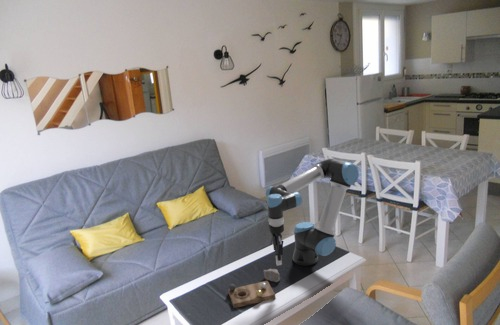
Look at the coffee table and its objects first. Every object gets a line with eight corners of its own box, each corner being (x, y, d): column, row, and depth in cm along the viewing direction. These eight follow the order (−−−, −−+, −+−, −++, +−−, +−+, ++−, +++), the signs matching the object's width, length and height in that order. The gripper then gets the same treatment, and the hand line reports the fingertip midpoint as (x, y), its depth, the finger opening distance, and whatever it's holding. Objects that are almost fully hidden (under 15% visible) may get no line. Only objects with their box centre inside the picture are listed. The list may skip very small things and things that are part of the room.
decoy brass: (261, 293, 197) (261, 287, 196) (263, 297, 193) (263, 291, 192) (255, 295, 196) (254, 289, 195) (257, 299, 193) (256, 293, 192)
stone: (284, 278, 213) (284, 269, 211) (275, 284, 208) (274, 275, 206) (271, 272, 220) (270, 263, 218) (262, 278, 214) (261, 269, 213)
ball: (266, 286, 202) (265, 280, 201) (268, 290, 199) (267, 284, 198) (259, 287, 202) (259, 282, 201) (261, 291, 198) (261, 285, 197)
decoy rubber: (235, 287, 204) (234, 281, 203) (236, 291, 200) (235, 285, 199) (228, 289, 203) (228, 283, 202) (230, 292, 199) (229, 287, 198)
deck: (267, 284, 208) (267, 280, 207) (275, 298, 196) (275, 294, 195) (228, 293, 203) (228, 289, 202) (233, 308, 191) (233, 303, 190)
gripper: (265, 220, 199) (268, 260, 206) (273, 230, 187) (276, 272, 193) (279, 217, 201) (281, 257, 207) (287, 227, 188) (289, 269, 195)
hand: (279, 264), depth 200 cm, fingers closed
